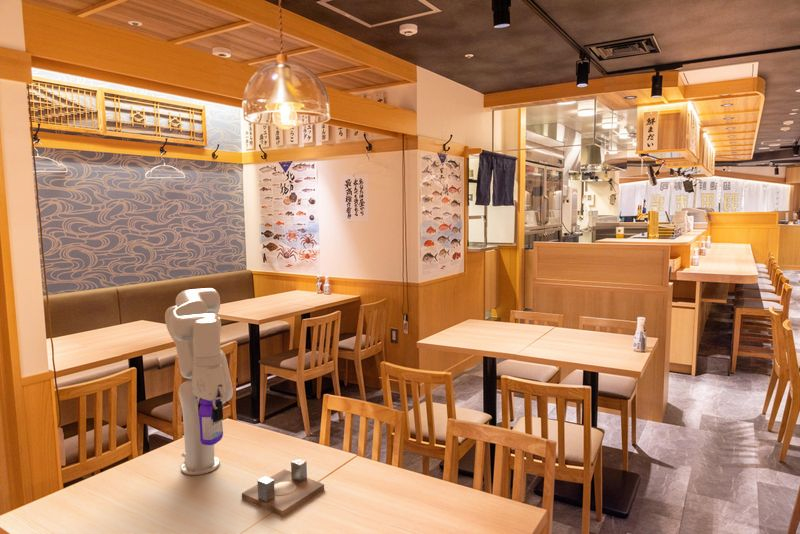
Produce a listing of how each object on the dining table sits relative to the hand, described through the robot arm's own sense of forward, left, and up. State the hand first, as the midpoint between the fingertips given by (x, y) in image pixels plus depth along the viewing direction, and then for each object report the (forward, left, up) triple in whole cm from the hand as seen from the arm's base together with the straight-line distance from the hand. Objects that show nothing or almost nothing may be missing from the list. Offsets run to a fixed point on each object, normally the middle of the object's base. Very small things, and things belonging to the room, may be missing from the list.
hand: (210, 417), depth 163 cm
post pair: (+14, +15, -25) cm, 33 cm away
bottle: (0, 0, -8) cm, 8 cm away
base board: (+14, +15, -27) cm, 34 cm away
